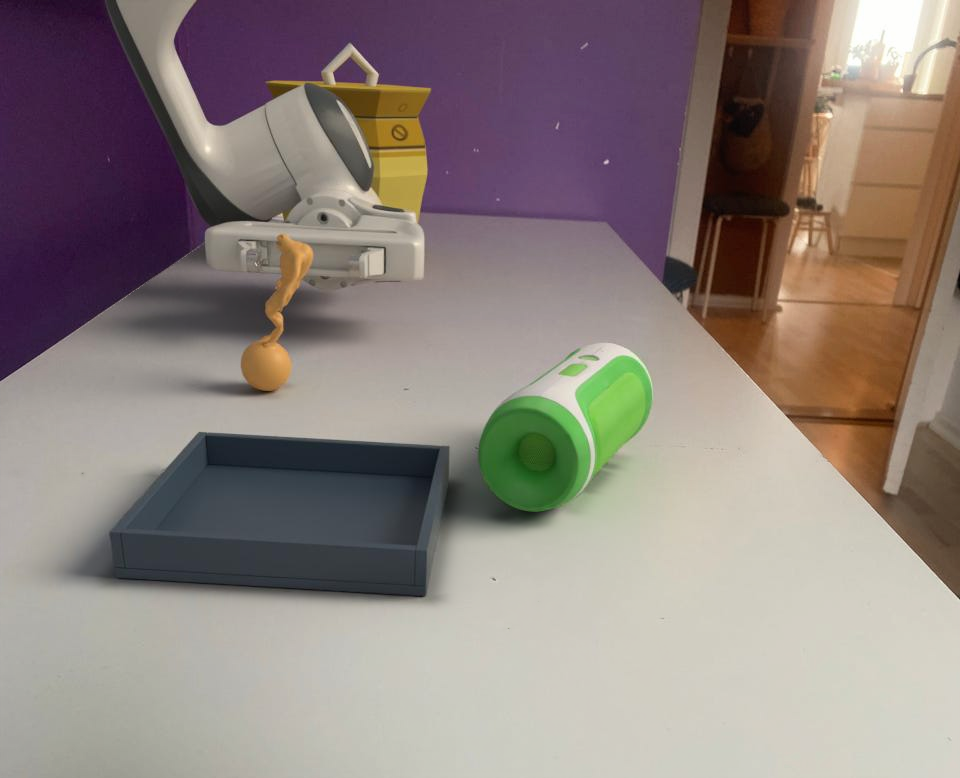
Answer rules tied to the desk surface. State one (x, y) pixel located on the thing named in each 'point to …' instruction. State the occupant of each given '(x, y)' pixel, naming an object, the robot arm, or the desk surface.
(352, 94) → the container
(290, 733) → the desk surface
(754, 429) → the desk surface
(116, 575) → the tray
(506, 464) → the speaker
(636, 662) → the desk surface
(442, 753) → the desk surface
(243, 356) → the figurine
